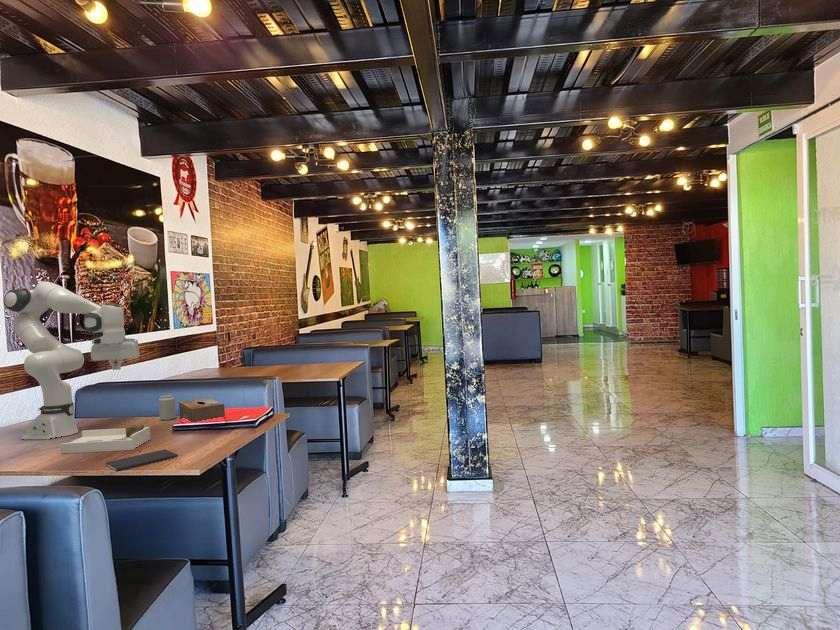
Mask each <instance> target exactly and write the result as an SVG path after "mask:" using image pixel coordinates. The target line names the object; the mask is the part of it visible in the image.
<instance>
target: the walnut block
mask: <svg viewBox="0 0 840 630" xmlns="http://www.w3.org/2000/svg"><path fill="white" fill-rule="evenodd" d="M143 427H144V424H131V425H129V426H127V427H125V428H126V437H130V436H131V435H133V434H134V433H136V432H138V431H140V430H142V429H144V428H143Z"/></svg>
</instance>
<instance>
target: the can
mask: <svg viewBox="0 0 840 630" xmlns="http://www.w3.org/2000/svg"><path fill="white" fill-rule="evenodd" d="M176 409H177V408H176V398H175V397H174V394H166V395H165V394H164V395H161V396H159V399H158V413H159V420H161V421H163V420H164V421H163V422H165V421H173V420H175V418H176V417H177V410H176Z"/></svg>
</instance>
